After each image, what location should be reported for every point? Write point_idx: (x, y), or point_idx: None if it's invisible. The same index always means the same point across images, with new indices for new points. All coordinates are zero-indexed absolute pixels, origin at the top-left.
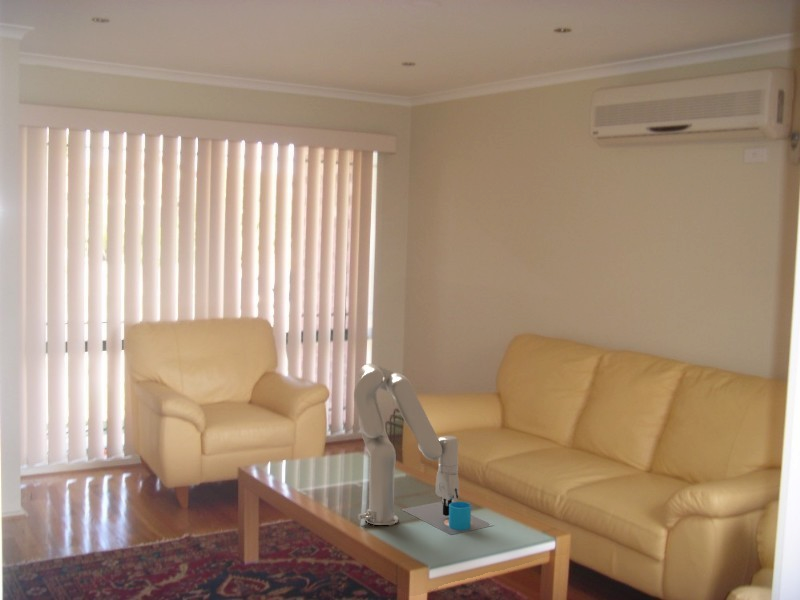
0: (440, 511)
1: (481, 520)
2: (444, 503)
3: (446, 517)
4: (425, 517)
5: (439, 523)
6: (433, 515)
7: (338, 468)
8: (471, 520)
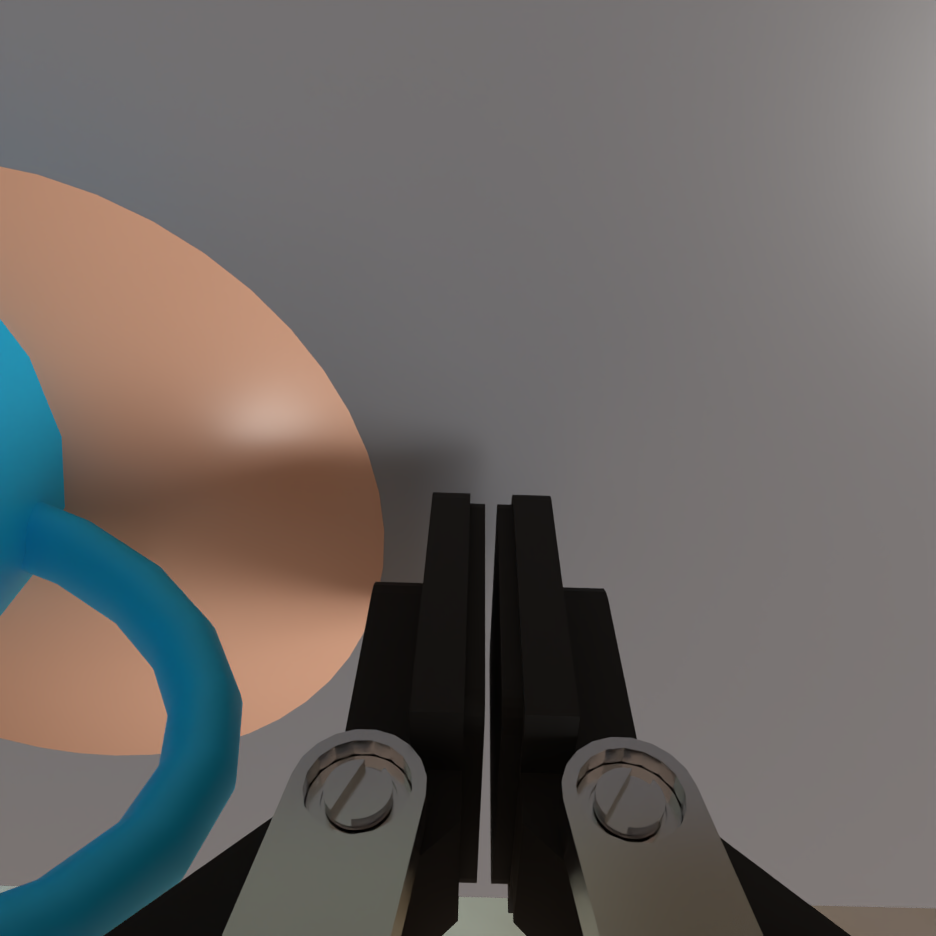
0: (921, 637)
1: (49, 870)
2: (559, 803)
3: None
4: (912, 7)
5: (156, 61)
6: (850, 350)
7: None
8: (105, 773)
